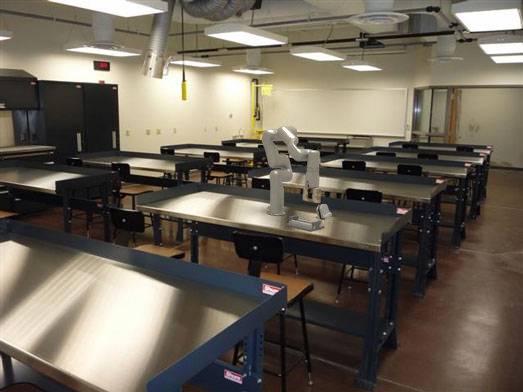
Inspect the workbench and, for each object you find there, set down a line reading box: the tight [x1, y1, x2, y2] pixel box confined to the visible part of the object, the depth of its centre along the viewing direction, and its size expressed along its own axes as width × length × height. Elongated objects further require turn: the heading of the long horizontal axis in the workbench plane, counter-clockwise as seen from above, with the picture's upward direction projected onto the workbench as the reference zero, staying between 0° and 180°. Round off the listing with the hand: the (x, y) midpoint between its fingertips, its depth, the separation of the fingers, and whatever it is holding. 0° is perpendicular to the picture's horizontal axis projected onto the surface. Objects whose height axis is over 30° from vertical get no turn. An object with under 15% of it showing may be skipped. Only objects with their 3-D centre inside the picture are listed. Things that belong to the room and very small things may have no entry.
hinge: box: [315, 203, 333, 221], centre depth 313 cm, size 17×5×10 cm, turn 156°
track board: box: [285, 214, 325, 233], centre depth 284 cm, size 20×14×5 cm
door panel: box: [302, 185, 322, 204], centre depth 290 cm, size 12×3×9 cm, turn 46°
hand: (311, 197), depth 290 cm, fingers closed on door panel, 3 cm apart
